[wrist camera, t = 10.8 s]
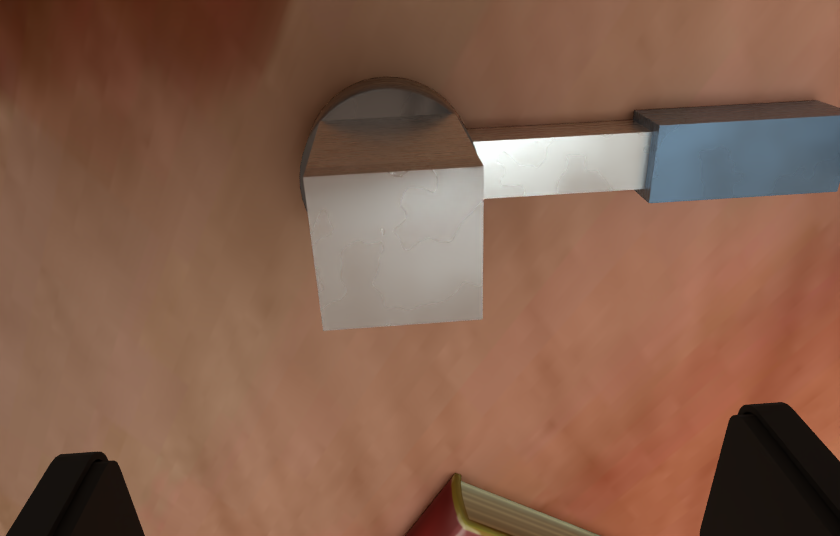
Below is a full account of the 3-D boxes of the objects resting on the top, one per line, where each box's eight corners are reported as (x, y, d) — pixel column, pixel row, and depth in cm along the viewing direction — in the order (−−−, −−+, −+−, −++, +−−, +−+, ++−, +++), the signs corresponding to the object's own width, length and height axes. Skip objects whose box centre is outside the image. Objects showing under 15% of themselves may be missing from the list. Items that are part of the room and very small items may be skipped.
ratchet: (296, 81, 25) (272, 122, 18) (828, 54, 26) (969, 84, 20) (316, 240, 28) (301, 320, 22) (788, 210, 29) (899, 279, 23)
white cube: (319, 121, 23) (302, 177, 17) (455, 113, 23) (483, 166, 17) (334, 244, 25) (323, 330, 19) (457, 236, 25) (482, 319, 19)
